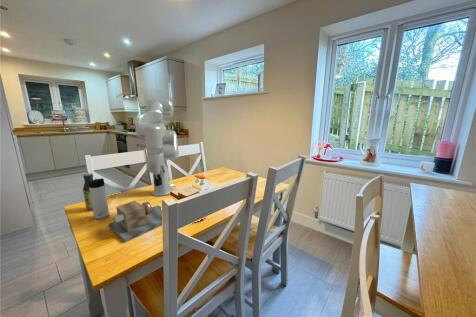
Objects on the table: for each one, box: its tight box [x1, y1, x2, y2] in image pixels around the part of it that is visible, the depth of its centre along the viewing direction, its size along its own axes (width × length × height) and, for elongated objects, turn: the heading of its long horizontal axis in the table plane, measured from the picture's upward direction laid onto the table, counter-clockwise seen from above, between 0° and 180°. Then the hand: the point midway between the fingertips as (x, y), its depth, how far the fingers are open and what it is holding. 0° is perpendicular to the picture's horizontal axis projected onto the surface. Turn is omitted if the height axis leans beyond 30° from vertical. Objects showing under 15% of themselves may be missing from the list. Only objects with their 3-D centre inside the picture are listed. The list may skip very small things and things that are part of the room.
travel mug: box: [88, 178, 110, 221], centre depth 94 cm, size 6×7×20 cm
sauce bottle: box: [82, 172, 94, 212], centre depth 103 cm, size 6×6×20 cm
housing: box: [107, 200, 163, 243], centre depth 91 cm, size 24×18×10 cm
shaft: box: [113, 201, 153, 223], centre depth 87 cm, size 14×6×6 cm, turn 141°
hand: (158, 185), depth 99 cm, fingers closed
